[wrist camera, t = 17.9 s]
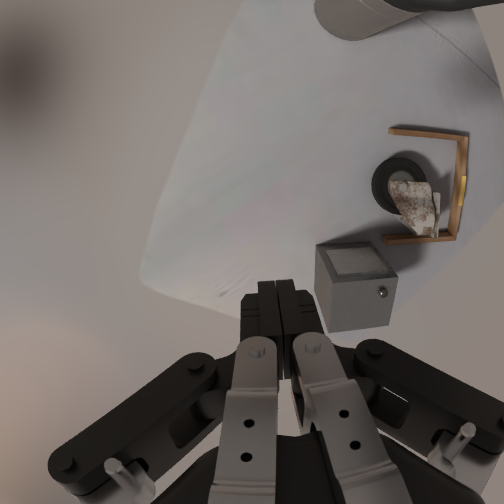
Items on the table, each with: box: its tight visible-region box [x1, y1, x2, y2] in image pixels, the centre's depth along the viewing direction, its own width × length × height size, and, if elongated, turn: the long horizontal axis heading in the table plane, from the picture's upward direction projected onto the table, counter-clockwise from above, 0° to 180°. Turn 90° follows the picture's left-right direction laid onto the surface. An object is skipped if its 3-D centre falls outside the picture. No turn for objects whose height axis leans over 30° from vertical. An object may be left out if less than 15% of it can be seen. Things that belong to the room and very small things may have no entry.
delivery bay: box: [382, 128, 468, 245], centre depth 43 cm, size 18×14×2 cm
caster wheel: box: [371, 158, 440, 239], centre depth 42 cm, size 7×11×10 cm
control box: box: [314, 242, 398, 333], centre depth 45 cm, size 9×9×12 cm
